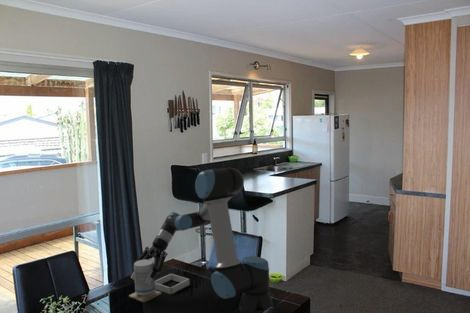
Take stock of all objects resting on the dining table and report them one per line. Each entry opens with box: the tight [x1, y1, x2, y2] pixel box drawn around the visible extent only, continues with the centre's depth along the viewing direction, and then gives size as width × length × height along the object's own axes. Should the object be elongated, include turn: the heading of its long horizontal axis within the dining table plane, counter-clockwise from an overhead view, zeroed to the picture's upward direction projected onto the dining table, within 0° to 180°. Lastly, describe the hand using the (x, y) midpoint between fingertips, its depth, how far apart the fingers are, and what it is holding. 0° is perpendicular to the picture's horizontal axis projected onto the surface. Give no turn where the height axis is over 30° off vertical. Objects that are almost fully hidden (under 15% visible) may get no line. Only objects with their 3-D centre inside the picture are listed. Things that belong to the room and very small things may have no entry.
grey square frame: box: [155, 273, 191, 295], centre depth 205 cm, size 14×14×3 cm
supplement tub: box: [133, 259, 156, 295], centre depth 194 cm, size 10×10×15 cm
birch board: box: [128, 289, 162, 303], centre depth 195 cm, size 11×11×1 cm
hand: (139, 281), depth 192 cm, fingers closed on supplement tub, 9 cm apart
